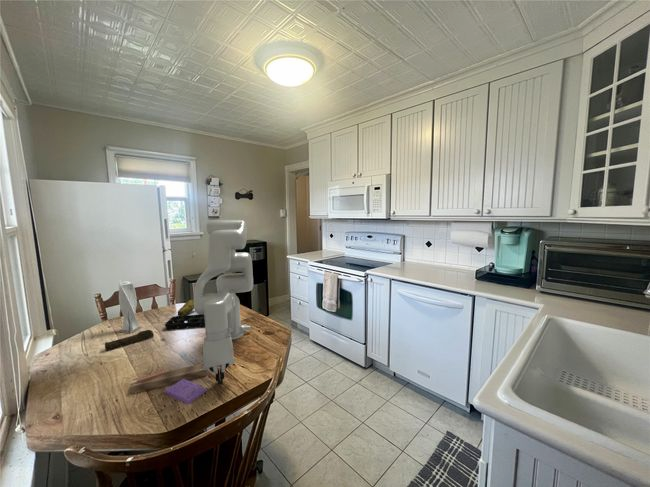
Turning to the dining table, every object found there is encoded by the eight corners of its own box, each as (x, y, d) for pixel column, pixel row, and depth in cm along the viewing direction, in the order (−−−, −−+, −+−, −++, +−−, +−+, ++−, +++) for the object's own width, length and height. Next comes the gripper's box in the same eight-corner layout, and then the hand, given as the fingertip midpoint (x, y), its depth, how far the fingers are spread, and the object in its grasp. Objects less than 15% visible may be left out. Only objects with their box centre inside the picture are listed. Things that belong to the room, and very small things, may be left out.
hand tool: (105, 352, 121) (104, 343, 120) (105, 349, 124) (104, 340, 123) (154, 339, 133) (153, 330, 133) (153, 336, 136) (152, 327, 136)
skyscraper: (116, 332, 141) (111, 280, 137) (129, 326, 149) (124, 277, 145) (131, 333, 140) (126, 281, 136) (143, 326, 148) (138, 277, 144)
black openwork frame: (168, 323, 153) (167, 316, 153) (223, 314, 165) (223, 308, 164) (163, 336, 137) (162, 329, 137) (225, 325, 149) (224, 319, 148)
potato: (174, 315, 164) (172, 302, 163) (195, 309, 173) (194, 297, 173) (179, 318, 158) (178, 305, 157) (201, 312, 168) (200, 299, 167)
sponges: (188, 405, 87) (188, 400, 87) (164, 393, 93) (164, 388, 93) (206, 392, 93) (206, 387, 93) (183, 382, 99) (183, 377, 99)
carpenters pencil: (165, 372, 100) (165, 370, 100) (166, 373, 99) (166, 372, 99) (131, 383, 94) (131, 381, 94) (131, 384, 93) (131, 382, 93)
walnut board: (206, 368, 107) (205, 362, 106) (206, 375, 102) (205, 369, 102) (133, 385, 97) (133, 378, 97) (130, 393, 92) (129, 387, 92)
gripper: (237, 325, 102) (240, 370, 104) (194, 333, 96) (197, 381, 98) (240, 333, 95) (242, 381, 97) (193, 342, 89) (197, 393, 91)
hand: (220, 381), depth 98 cm, fingers closed
